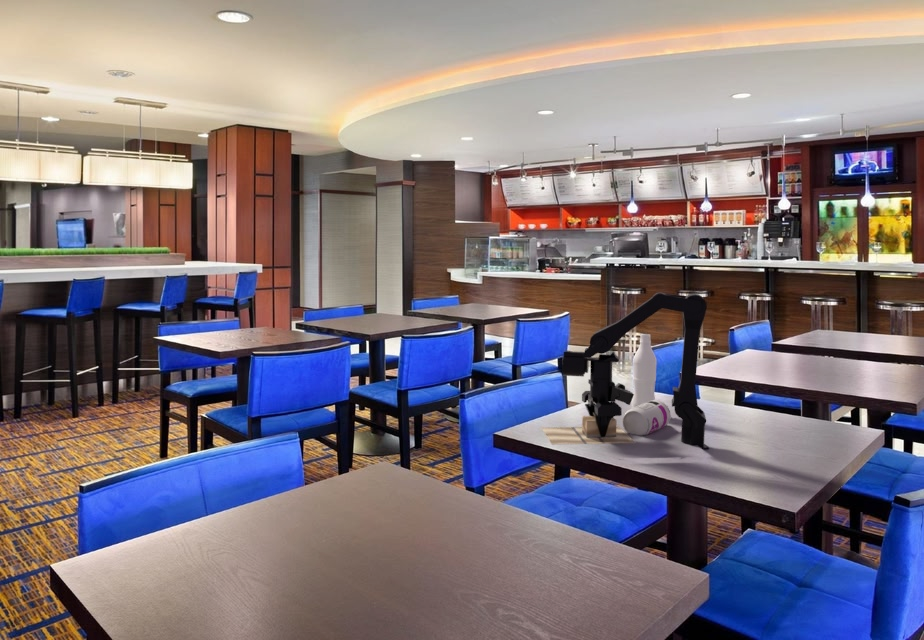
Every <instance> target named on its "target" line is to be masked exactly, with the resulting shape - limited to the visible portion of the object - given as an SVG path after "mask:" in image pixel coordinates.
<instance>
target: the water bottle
mask: <svg viewBox="0 0 924 640" xmlns="http://www.w3.org/2000/svg"><path fill="white" fill-rule="evenodd" d="M651 336H652V335H651V334H649V333H648V334H647V333H641V334H640V338H639V346H638V349H637V351H635V354H634V356H633V359H632V383H633V392H632V393H633V394H634V396H633V398H632V401H631V408H634V407H636V406H639V405H641V404H644V403H646V402H649V401H651V400H656V398H655V397H656V396H655V387H656V383H657V382H656V381H657V364H658V360H657V357H656V355H655V353H654V351H653V348H652V345H651V343H652V340H651Z"/></svg>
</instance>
